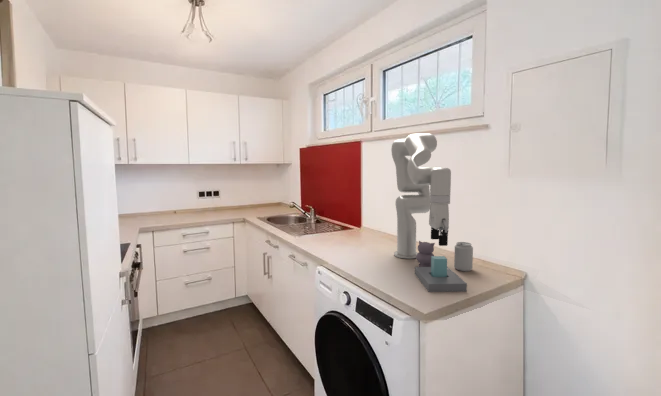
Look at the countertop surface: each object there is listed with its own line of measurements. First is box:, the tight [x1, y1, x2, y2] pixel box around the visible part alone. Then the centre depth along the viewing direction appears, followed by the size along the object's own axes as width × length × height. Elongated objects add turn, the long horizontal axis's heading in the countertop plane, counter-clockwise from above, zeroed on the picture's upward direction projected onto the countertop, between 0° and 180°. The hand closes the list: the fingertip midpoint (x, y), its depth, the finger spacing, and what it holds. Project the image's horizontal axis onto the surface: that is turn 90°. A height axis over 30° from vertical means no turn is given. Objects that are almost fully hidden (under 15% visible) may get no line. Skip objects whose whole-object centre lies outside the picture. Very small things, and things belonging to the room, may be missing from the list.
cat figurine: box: [415, 240, 436, 267], centre depth 144 cm, size 8×8×12 cm
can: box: [453, 241, 474, 272], centre depth 141 cm, size 8×8×12 cm
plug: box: [431, 255, 448, 277], centre depth 126 cm, size 4×5×10 cm
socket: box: [414, 266, 468, 293], centre depth 126 cm, size 20×14×4 cm
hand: (438, 242), depth 125 cm, fingers open, 9 cm apart
